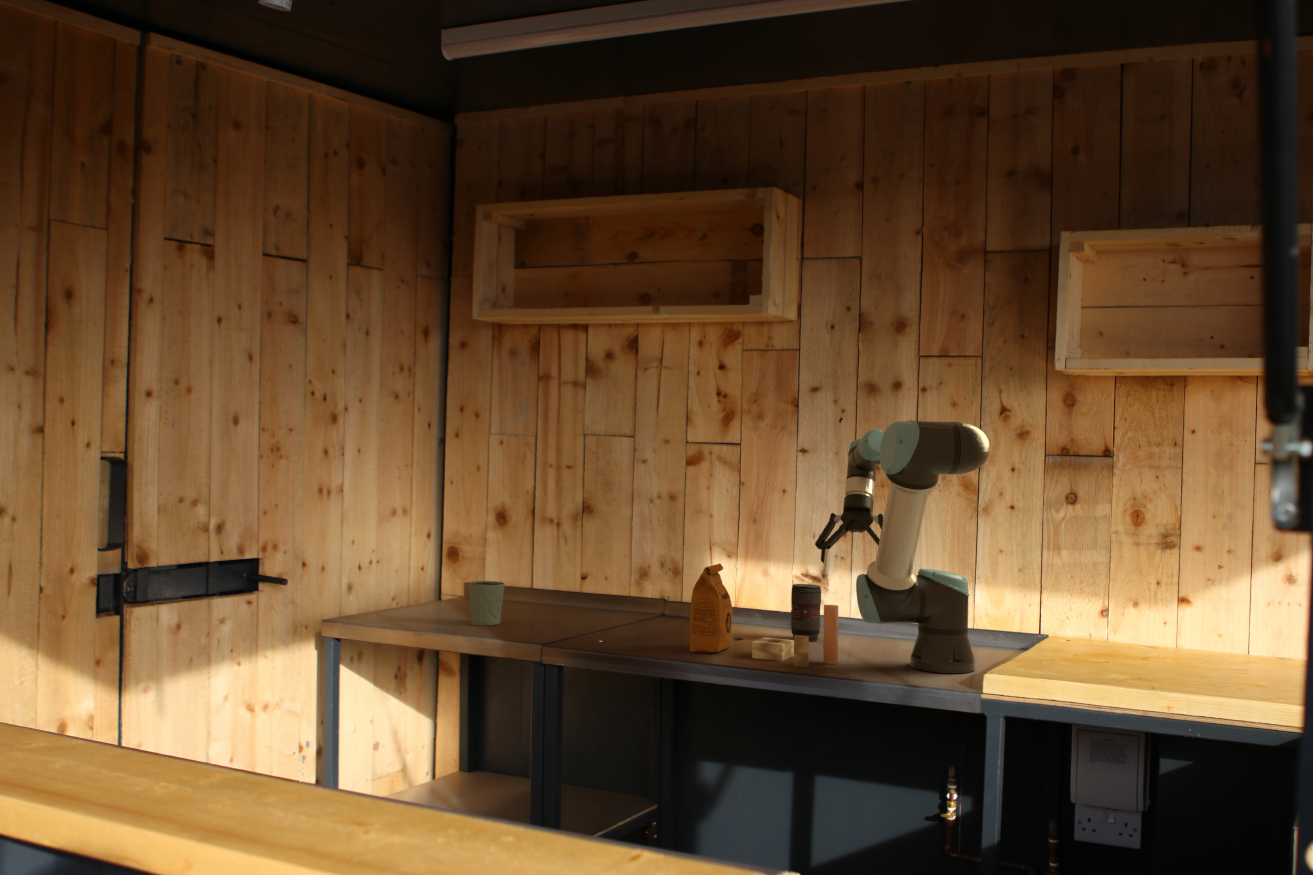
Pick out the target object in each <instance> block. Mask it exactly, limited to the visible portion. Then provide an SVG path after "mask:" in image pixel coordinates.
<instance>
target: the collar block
mask: <svg viewBox="0 0 1313 875" xmlns="http://www.w3.org/2000/svg"><path fill="white" fill-rule="evenodd" d="M751 649H752V650H751V652H752V653H751V658H752V659H760V660H768V661H777V662H784V661H785V660H788V659H790V658H794V640H793V639H786V638H785V639H783V638H773V637H762V638H759V639H756V640H753V641H751Z"/></svg>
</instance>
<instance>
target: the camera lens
mask: <svg viewBox="0 0 1313 875" xmlns="http://www.w3.org/2000/svg"><path fill="white" fill-rule="evenodd" d="M821 587H822V586H821V585H817V584H809V583H793V584H792V587H791V594H790V595H791V596H790V599H791V600H790V601H791V610H790V616H791V621H790V627H791V628H790V629H791V634H792V640H794V636H797V635H803V636H808V637H809V643H810V642H817V641H818V639H819V635H820V629H821V605H822V588H821Z"/></svg>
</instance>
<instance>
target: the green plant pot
mask: <svg viewBox="0 0 1313 875" xmlns="http://www.w3.org/2000/svg"><path fill="white" fill-rule="evenodd" d="M468 587H469V588H468V589H469V607H470V609H469V610H470V612H469V613H470V614H469V615H470V616H469V617H470V625H471V624H473V625H472V626H474V625H494V624H499V623H500V624H501V620H502V619H501V618H502V606H503V600H504V591H505V582H502V581H493V580H476V581H470V582H469V583H468ZM500 624H499V625H500Z"/></svg>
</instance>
